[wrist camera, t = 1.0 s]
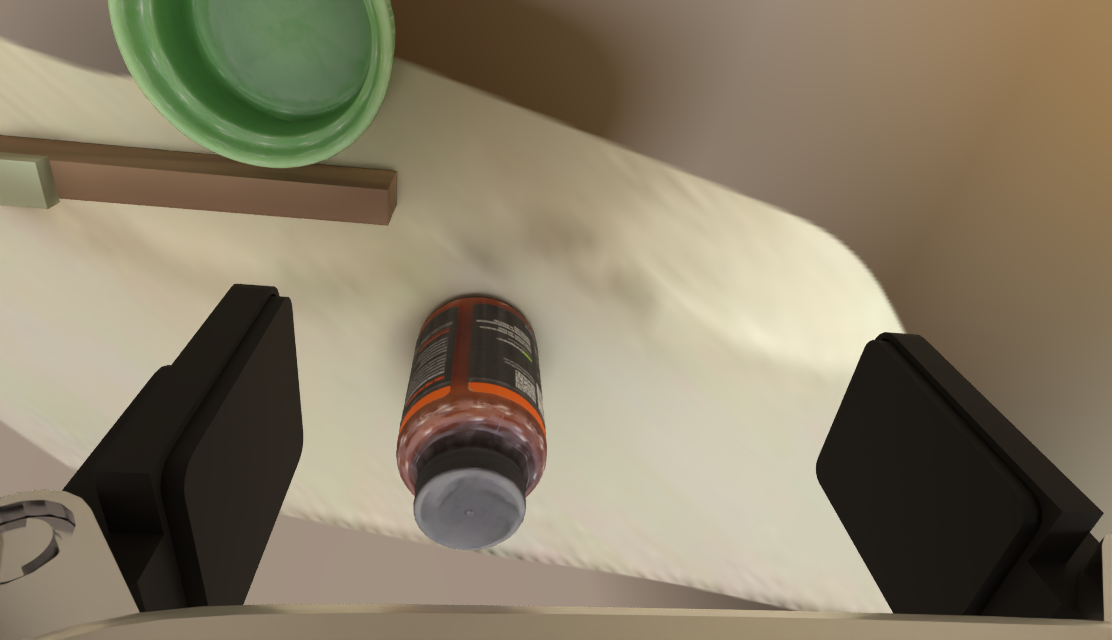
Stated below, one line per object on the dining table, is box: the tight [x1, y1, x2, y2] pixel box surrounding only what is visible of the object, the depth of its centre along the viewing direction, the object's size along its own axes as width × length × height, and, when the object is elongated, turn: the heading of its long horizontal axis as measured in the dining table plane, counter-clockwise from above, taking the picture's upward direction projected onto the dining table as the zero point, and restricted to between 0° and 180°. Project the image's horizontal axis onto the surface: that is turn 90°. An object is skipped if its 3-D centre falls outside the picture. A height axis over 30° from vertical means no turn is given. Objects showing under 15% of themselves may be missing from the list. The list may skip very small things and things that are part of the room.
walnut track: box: [0, 135, 397, 225], centre depth 23 cm, size 14×20×3 cm
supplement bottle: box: [396, 297, 547, 550], centre depth 28 cm, size 6×6×11 cm
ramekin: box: [108, 0, 396, 168], centre depth 24 cm, size 9×9×4 cm
